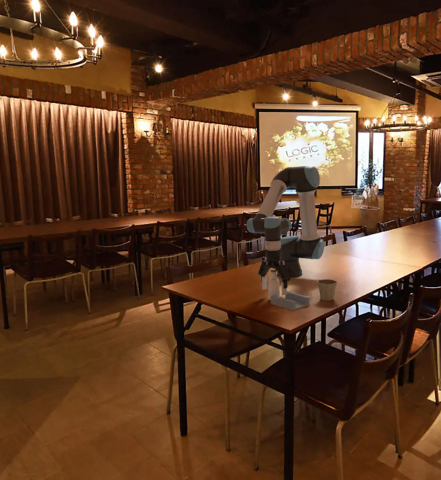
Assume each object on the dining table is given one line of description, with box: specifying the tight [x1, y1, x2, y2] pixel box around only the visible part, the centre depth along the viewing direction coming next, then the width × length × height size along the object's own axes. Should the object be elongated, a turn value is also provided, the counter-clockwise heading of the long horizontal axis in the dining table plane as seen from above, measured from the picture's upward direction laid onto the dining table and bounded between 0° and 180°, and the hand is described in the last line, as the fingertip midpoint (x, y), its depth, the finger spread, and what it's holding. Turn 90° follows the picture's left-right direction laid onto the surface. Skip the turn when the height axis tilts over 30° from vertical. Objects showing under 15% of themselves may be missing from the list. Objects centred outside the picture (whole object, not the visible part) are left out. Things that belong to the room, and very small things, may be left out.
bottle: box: [267, 269, 281, 301], centre depth 191 cm, size 5×5×15 cm
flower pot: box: [316, 278, 338, 302], centre depth 188 cm, size 9×9×9 cm
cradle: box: [270, 290, 311, 311], centre depth 183 cm, size 14×11×4 cm
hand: (274, 291), depth 191 cm, fingers open, 13 cm apart
